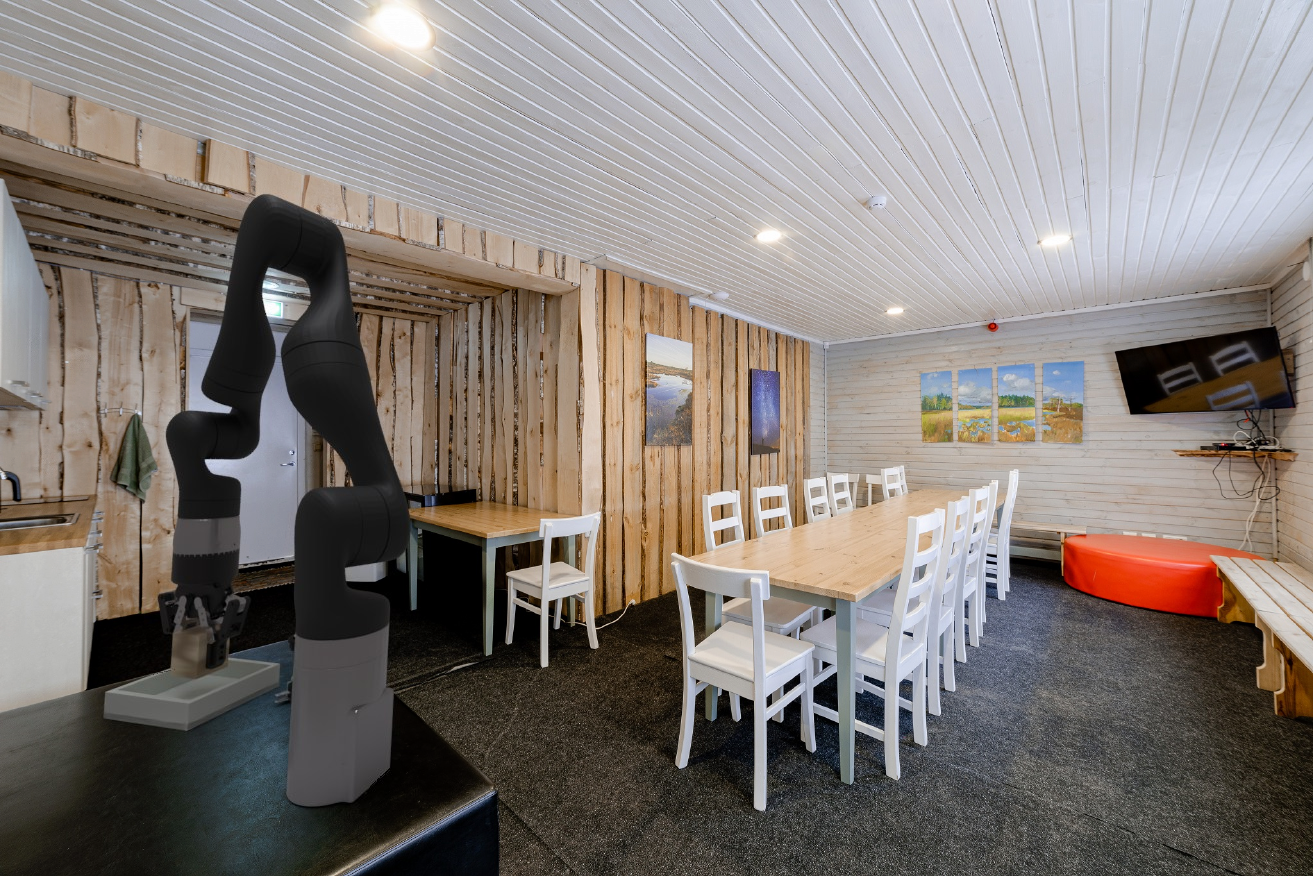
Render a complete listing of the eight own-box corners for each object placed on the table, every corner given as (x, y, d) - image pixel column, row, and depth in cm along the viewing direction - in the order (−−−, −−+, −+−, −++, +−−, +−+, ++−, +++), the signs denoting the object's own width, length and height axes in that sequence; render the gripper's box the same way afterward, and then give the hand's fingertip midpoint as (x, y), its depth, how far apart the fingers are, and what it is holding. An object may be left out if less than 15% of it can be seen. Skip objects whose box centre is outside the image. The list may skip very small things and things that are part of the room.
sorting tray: (278, 686, 82) (280, 663, 82) (187, 730, 69) (189, 703, 69) (205, 677, 84) (207, 654, 84) (103, 718, 71) (105, 691, 71)
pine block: (227, 666, 78) (230, 626, 79) (196, 679, 74) (199, 636, 74) (202, 663, 79) (205, 623, 79) (170, 675, 75) (173, 633, 75)
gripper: (272, 546, 80) (265, 660, 79) (193, 540, 82) (186, 651, 82) (223, 555, 72) (215, 681, 72) (138, 548, 75) (130, 670, 74)
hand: (199, 664), depth 77 cm, fingers closed on pine block, 4 cm apart
